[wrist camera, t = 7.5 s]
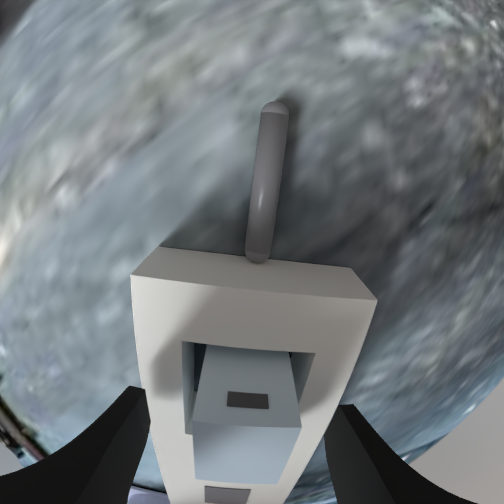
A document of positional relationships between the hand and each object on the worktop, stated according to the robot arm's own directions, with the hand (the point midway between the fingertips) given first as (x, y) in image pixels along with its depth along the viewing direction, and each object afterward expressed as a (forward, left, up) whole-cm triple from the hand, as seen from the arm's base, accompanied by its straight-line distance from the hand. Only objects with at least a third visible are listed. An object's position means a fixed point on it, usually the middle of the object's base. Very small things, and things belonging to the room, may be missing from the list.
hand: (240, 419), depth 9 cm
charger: (0, 0, -4) cm, 4 cm away
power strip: (-2, 0, -4) cm, 4 cm away
